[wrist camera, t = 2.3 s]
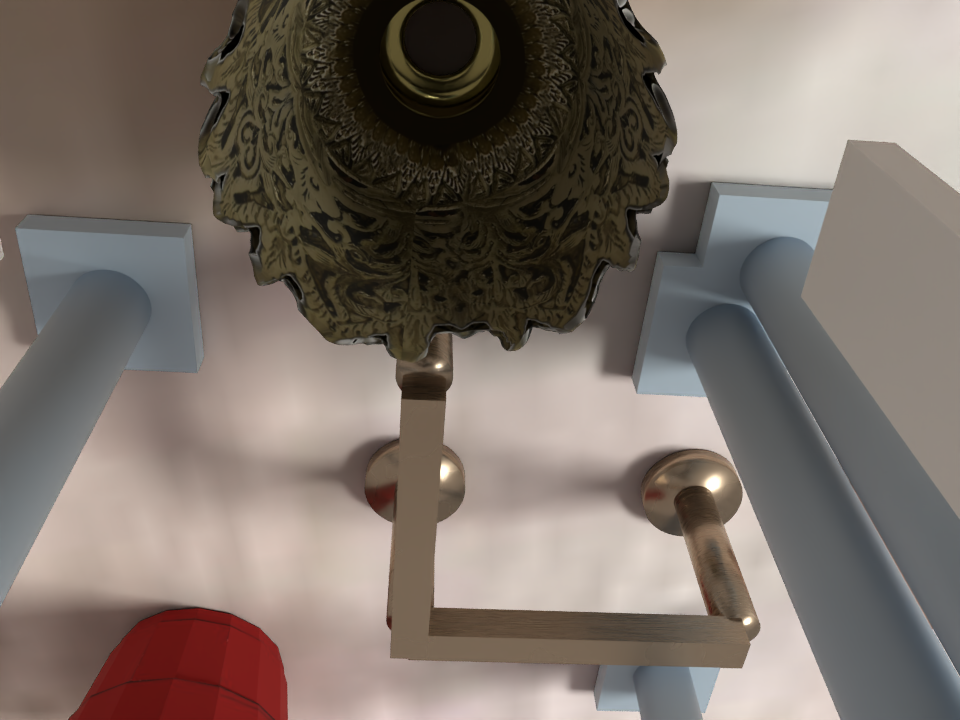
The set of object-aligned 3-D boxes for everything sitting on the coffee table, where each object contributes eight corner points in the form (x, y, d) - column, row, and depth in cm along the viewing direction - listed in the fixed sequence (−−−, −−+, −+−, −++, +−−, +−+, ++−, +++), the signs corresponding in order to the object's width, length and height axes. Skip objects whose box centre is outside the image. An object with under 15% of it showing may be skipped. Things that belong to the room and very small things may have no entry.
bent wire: (370, 198, 23) (349, 332, 18) (816, 225, 24) (925, 362, 18) (365, 511, 29) (347, 685, 23) (725, 524, 30) (788, 695, 24)
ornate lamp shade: (296, 195, 23) (236, 375, 16) (250, -141, 19) (144, -85, 12) (595, 185, 23) (657, 360, 16) (612, -151, 19) (704, -101, 12)
